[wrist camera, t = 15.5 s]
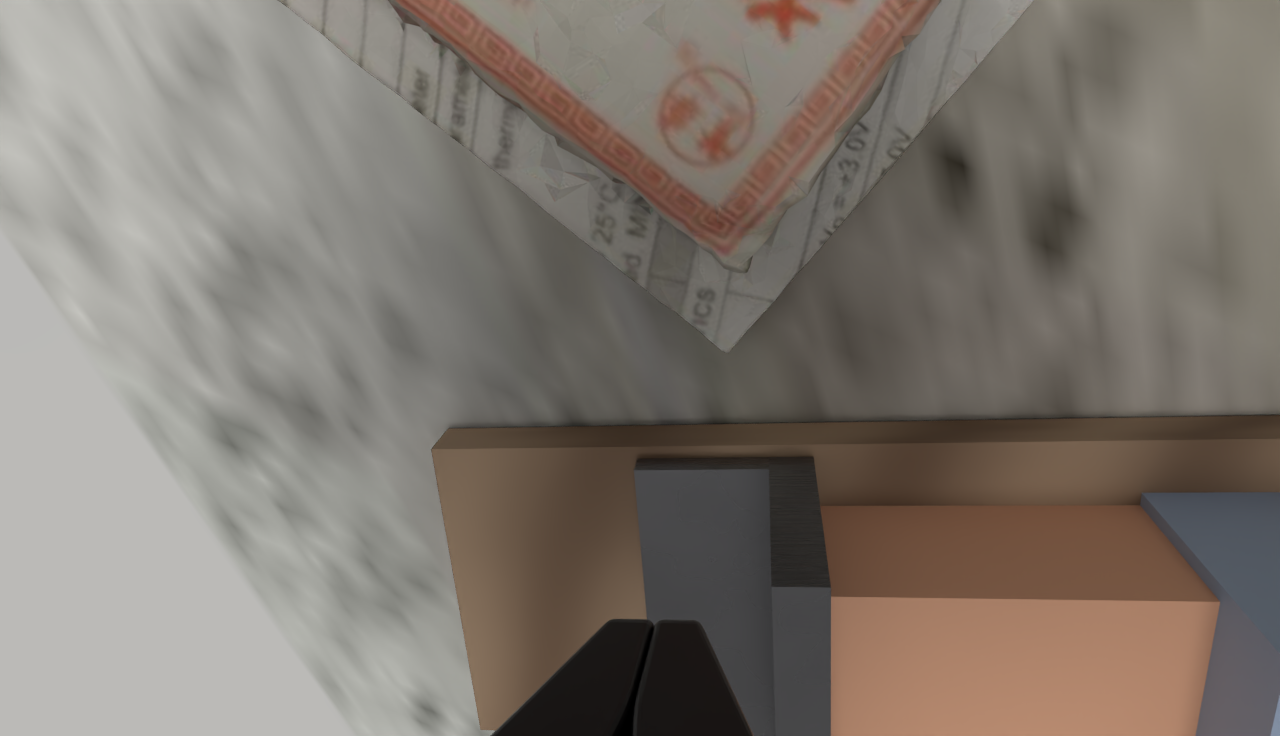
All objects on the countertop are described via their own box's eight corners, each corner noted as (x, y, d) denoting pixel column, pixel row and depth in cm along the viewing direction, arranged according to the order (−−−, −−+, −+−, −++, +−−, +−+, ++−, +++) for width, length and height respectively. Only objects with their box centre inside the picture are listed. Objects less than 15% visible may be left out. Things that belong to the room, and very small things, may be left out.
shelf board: (1400, 412, 18) (1645, 553, 13) (1322, 725, 21) (1499, 939, 16) (448, 428, 22) (351, 546, 16) (493, 698, 25) (423, 870, 19)
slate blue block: (1320, 491, 18) (1541, 667, 13) (1270, 718, 20) (1443, 947, 15) (1142, 493, 19) (1286, 662, 13) (1110, 713, 21) (1226, 932, 16)
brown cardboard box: (1140, 505, 19) (1220, 601, 15) (1111, 707, 21) (1177, 830, 17) (813, 505, 20) (824, 596, 16) (814, 698, 22) (825, 813, 18)
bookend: (813, 456, 19) (831, 587, 15) (815, 737, 22) (830, 923, 17) (637, 458, 20) (599, 584, 15) (660, 731, 22) (635, 909, 18)
